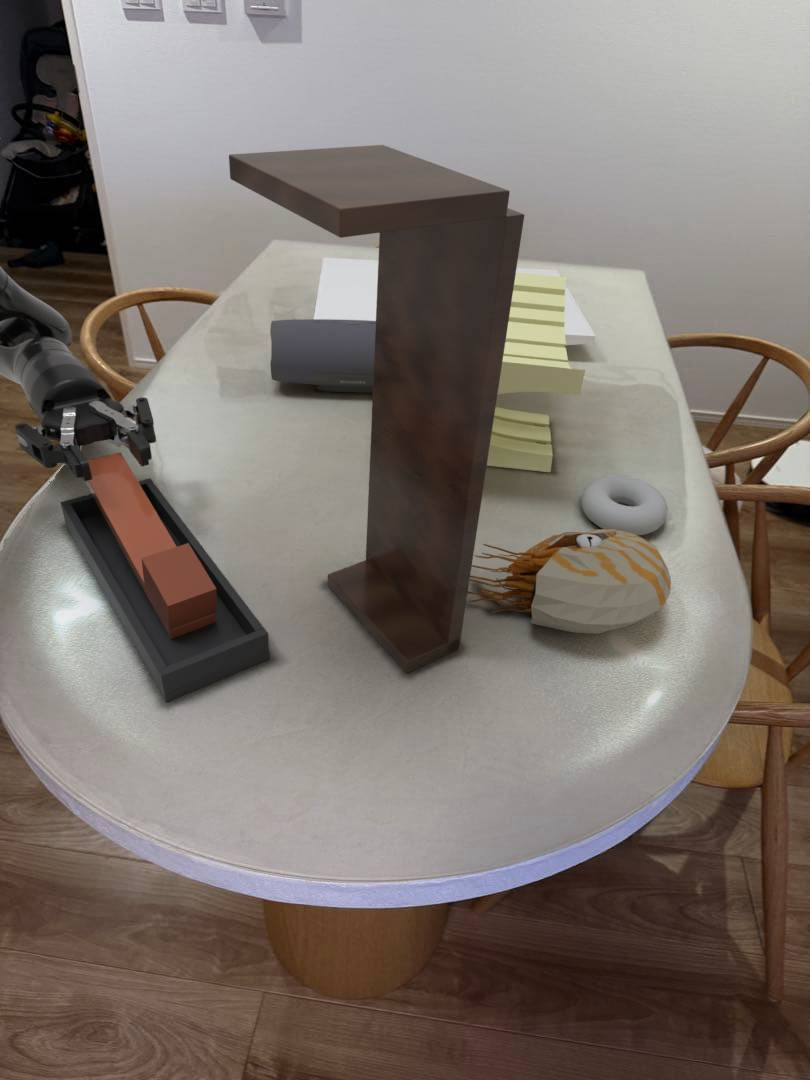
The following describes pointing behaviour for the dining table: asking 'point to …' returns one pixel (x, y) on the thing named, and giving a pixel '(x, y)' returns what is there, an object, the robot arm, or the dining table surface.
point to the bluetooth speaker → (324, 353)
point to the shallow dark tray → (167, 660)
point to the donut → (637, 517)
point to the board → (355, 296)
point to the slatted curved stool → (532, 372)
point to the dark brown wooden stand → (415, 370)
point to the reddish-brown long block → (153, 549)
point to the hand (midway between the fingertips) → (116, 464)
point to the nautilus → (584, 580)
